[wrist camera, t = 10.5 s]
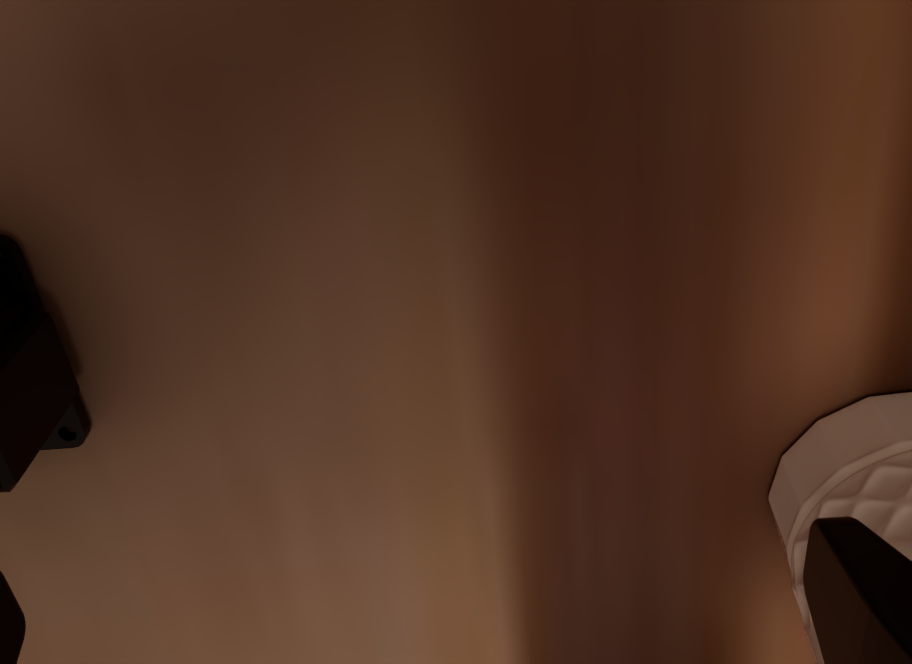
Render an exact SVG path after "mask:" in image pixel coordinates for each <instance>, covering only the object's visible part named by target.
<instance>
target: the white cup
mask: <svg viewBox="0 0 912 664" xmlns="http://www.w3.org/2000/svg"><path fill="white" fill-rule="evenodd" d="M768 499H769V503H770V507H771V510H772V514H773V517H774V521H775V525H776V528H777V532H778V535H779V538H780V541H781V544H782V547H783V549H784V552H785V555H786V558H787V560H788V563H789V567H790V571H791V586H792V589H793V592H794V595H795V598H796V601H797V603H798V606H799V608H800V611H801V616H802V620H803V624H804V629H805V632H806V635H807V638H808V641H809V644H810V647H811V649H812V652H813V655H814V658H815V661H816V664H824V660H823V657H822V653H821V650H820V646H819V642H818V639H817V635H816V632H815V628H814V625H813V621H812V617H811V614H810V610H809V607H808V603H807V600H806V596H805V591H804V585H803V570H804V563H805V557H806V550H807V543H808V537H809V530H810V526H811V524H812V522H813V521H814V520H816V519H818V518H828V517H845V516H848V517H853V518H855V519H857V520H859V521H860V522H862V523H863V524H864V525H866V526H867V527H868V528H869V529H871V530H872V531H873V532H875V533H876V534H877V535H878V536H880V537H881V538H882V539H884V540H885V541H886V542H888V543H889V544H890V545H891V546H893V547H894V548H895V549H897V550H898V551H899V552H900V553H902V554H903V555H904V556H906V557H907V558H908V559H910V560H911V561H912V392H907V393H897V394H888V395H879V396H871V397H867V398H865V399H863V400H860V401H858V402H856V403H854V404H852V405H850V406H847V407H845V408H843V409H841V410H839V411H837V412H835V413H833V414H830V415H828V416H826V417H824V418H822V419H820V420H818V421H817V422H816V423H815V424H814V425H813V426H812V427H811V428H810V429H809V430H808V431H807V432H806V433H805V434H804V435H803V436H802V437H801V438H800V439H799V440H798V441H797V442H796V443H795V444H794V445H793V446H792V447H791V448H790V449H789V450H788V451H787V452H786V453H785V454H784V455H783V456H782V457H781V460H780V463H779V466H778V469H777V472H776V475H775V478H774V481H773V484H772V486H771V489H770V492H769V495H768Z"/></svg>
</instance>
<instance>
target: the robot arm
mask: <svg viewBox="0 0 912 664" xmlns="http://www.w3.org/2000/svg"><path fill="white" fill-rule="evenodd" d="M0 253H2V255H3V256H4V258H5V261H3V260H0V493H1V492H10V491H11V490H12V489H13V488H14V487H15V486H16V484H17V483H18V481H19V480H20V478H21V477H22V476H23V474H24V473H25V471H26V470H27V468H28V467H29V465H30V464H31V462H32V461H33V459H34V458H35V456H36V455H37V453H38V452H39V450H49V449H63V448H74V447H78V446H80V445H81V444H83V443H84V441H85V440H86V438H87V436H88V435H89V432H90V430H91V428H90V423H89V421H88V418H87V416H86V413H85V411H84V408H83V405H82V403H81V400H80V398H79V395H78V393H79V386H78V384H77V381H76V379H75V376H74V373H73V371H72V368H71V366H70V363H69V361H68V358H67V356H66V353H65V350H64V348H63V345H62V343H61V340H60V338H59V335H58V333H57V330H56V328H55V325H54V322H53V320H52V317H51V316H50V315H49V313H48V312H47V311H46V310H45V309H44V307H43V304H42V302H41V299H40V297H39V294H38V291H37V289H36V286H35V284H34V281H33V279H32V276H31V274H30V271H29V269H28V266H27V264H26V261H25V259H24V256H23V253H22V251H21V249H20V247H19V246H18V244H17V243H16V242H15V241H14V240H12V239H11V238H10V237H7V236H5V235H2V234H0ZM65 427H70V428H71V429H73V430H74V431H75V432H71V431H69V430H67V429H66V428H65ZM803 585H804V591H805V596H806V600H807V603H808V607H809V610H810V614H811V617H812V621H813V625H814V628H815V632H816V635H817V639H818V642H819V646H820V650H821V653H822V657H823V660H824V664H912V561H911V560H910V559H908V558H907V557H906V556H904V555H903V554H902V553H900V552H899V551H898V550H897V549H895V548H894V547H893V546H891V545H890V544H889V543H888V542H886V541H885V540H884V539H882V538H881V537H880V536H878V535H877V534H876V533H875V532H873V531H872V530H871V529H869V528H868V527H867V526H866V525H864V524H863V523H862V522H860V521H859V520H857V519H855V518H853V517H848V516H845V517H828V518H818V519H816V520H814V521H813V522H812V524H811V526H810V530H809V537H808V543H807V550H806V557H805V563H804V570H803ZM25 629H26V624H25V617H24V614H23V612H22V610H21V608H20V606H19V604H18V602H17V600H16V598H15V596H14V594H13V592H12V590H11V588H10V586H9V584H8V582H7V581H6V579H5V577H4V575H3V573H2V572H1V571H0V664H17V661H18V657H19V654H20V651H21V647H22V644H23V641H24V636H25Z"/></svg>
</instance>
